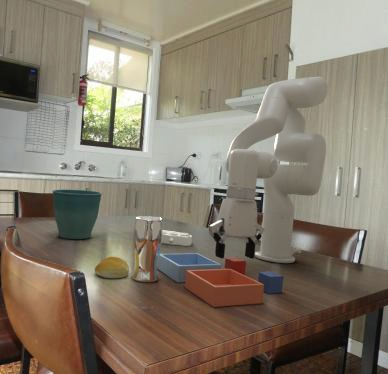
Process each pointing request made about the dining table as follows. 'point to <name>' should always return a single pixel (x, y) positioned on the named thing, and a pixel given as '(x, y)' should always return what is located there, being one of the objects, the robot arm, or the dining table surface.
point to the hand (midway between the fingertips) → (234, 257)
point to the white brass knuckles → (176, 238)
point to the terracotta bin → (224, 287)
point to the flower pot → (76, 212)
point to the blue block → (271, 282)
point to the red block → (235, 264)
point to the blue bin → (184, 264)
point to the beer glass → (147, 247)
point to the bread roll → (112, 268)
